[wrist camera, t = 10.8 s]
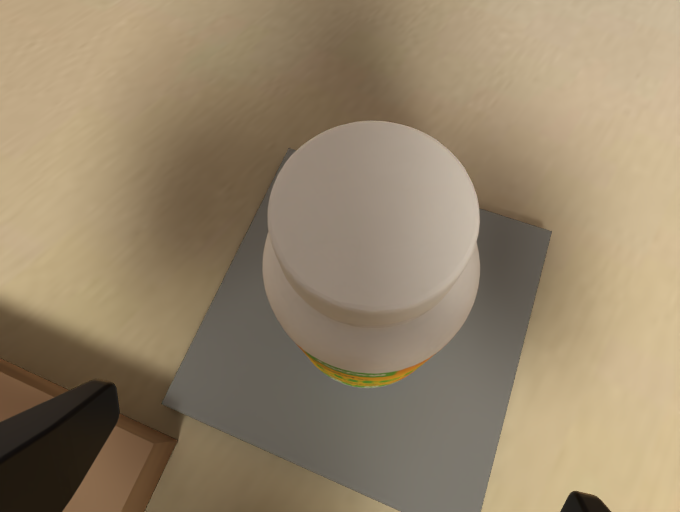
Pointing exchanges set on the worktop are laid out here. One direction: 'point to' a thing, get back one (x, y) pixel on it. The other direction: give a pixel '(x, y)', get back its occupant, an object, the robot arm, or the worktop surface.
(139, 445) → the hole board
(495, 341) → the slate mat
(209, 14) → the worktop surface
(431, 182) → the supplement bottle
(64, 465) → the robot arm
